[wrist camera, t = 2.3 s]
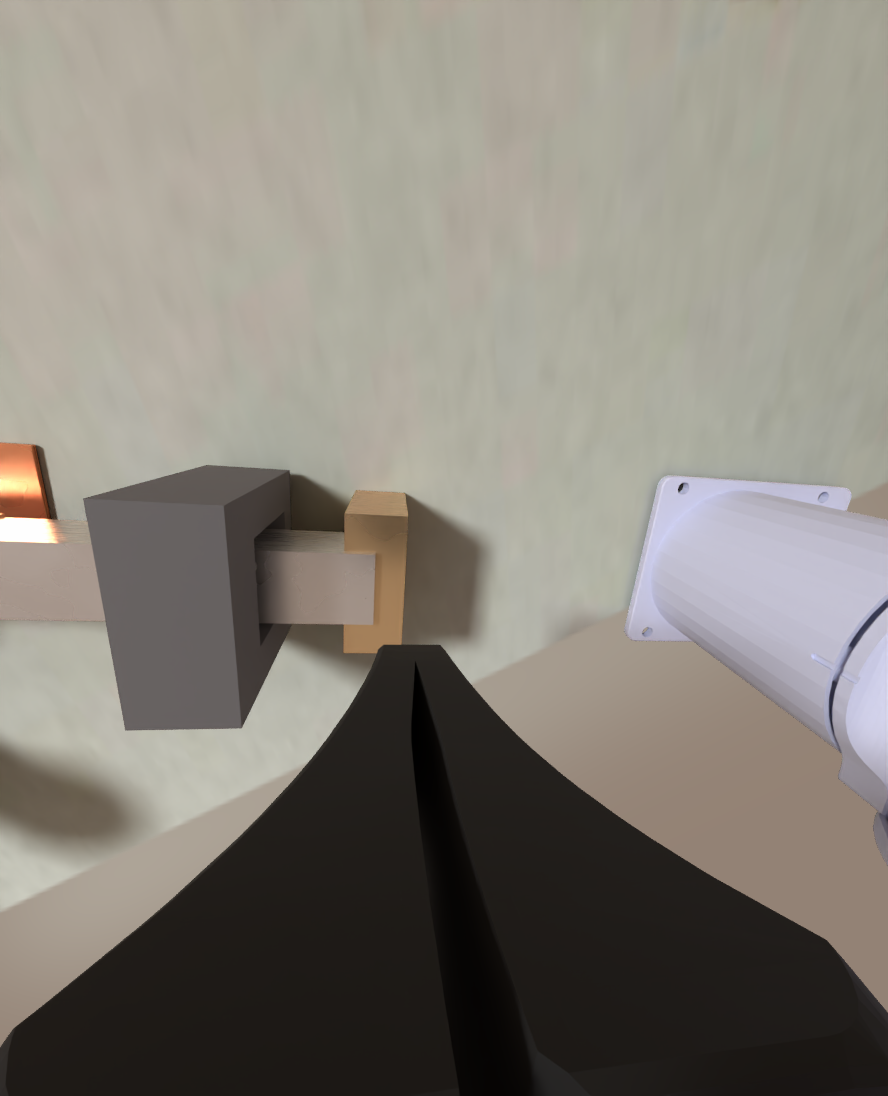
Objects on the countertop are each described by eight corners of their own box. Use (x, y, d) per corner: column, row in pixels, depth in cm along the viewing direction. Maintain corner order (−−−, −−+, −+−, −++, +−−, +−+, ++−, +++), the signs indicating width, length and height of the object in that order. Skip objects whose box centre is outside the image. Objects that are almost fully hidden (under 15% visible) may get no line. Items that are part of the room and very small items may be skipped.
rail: (406, 468, 17) (410, 487, 13) (398, 622, 19) (399, 683, 15) (-248, 426, 14) (-532, 431, 10) (-173, 614, 16) (-379, 686, 12)
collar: (289, 470, 16) (223, 505, 10) (294, 619, 18) (241, 728, 12) (206, 465, 16) (83, 498, 9) (220, 617, 18) (125, 730, 11)
